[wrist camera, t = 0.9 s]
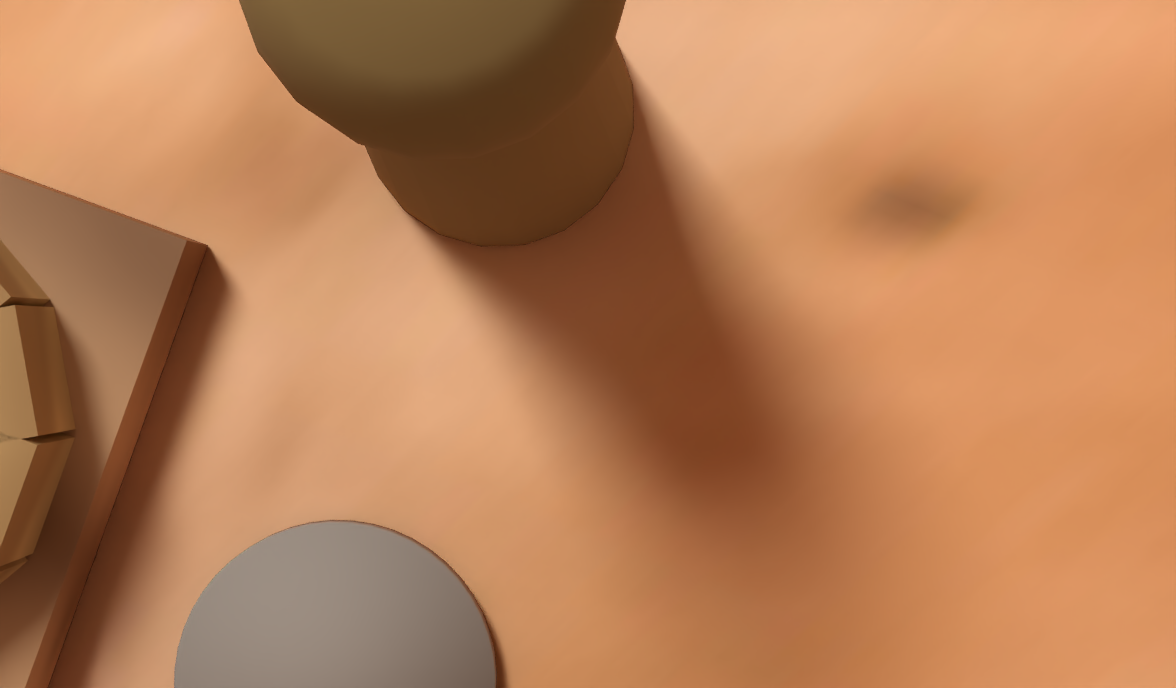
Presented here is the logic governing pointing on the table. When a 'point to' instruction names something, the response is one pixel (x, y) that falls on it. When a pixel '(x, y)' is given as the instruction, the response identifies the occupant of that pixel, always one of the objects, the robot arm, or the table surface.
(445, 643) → the grey coaster
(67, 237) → the hub board
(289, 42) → the olive green peg
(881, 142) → the table surface
